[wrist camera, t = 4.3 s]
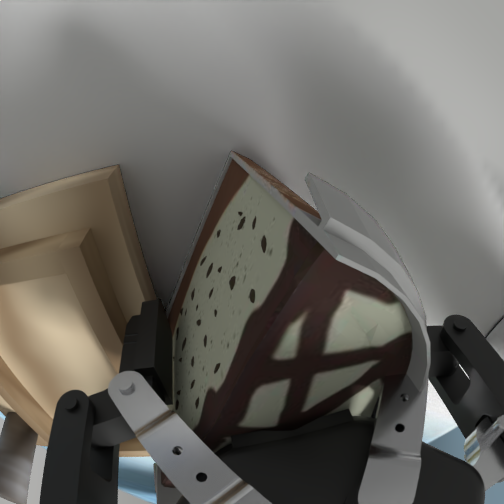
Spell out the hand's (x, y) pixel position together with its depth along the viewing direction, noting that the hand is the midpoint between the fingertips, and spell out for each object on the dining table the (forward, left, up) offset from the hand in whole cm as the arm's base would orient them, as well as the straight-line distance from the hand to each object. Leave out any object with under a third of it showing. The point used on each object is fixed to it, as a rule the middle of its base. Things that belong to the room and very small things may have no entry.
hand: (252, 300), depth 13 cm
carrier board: (+13, +4, -3) cm, 14 cm away
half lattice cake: (-1, 0, -3) cm, 3 cm away
